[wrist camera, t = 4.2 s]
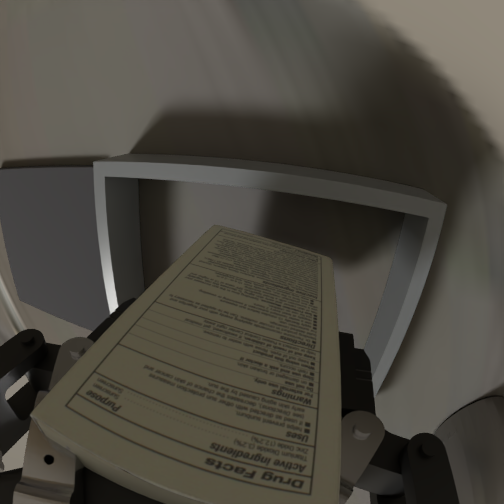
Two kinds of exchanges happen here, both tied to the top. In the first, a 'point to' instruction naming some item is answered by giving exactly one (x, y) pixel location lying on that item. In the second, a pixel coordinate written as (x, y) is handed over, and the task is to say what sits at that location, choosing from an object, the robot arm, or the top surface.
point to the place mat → (54, 241)
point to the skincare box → (214, 381)
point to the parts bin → (282, 180)
